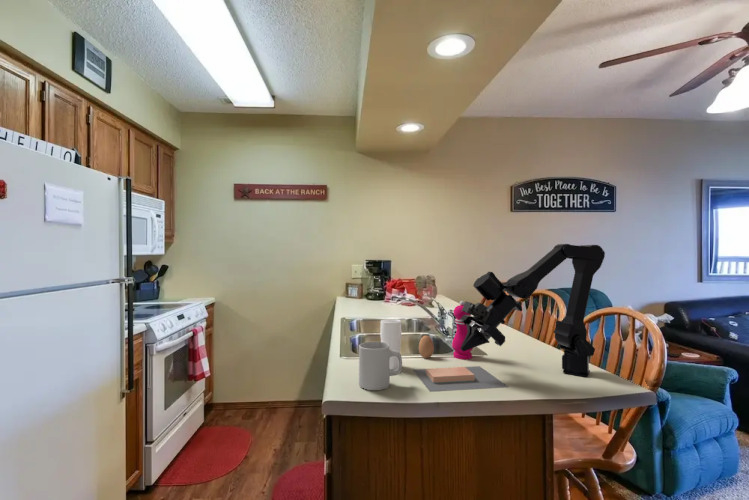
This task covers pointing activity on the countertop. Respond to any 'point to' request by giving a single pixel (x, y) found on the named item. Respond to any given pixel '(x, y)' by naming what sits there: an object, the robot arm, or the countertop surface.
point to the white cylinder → (391, 338)
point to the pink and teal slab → (450, 375)
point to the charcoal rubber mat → (481, 382)
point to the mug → (376, 365)
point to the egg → (426, 347)
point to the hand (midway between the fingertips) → (461, 350)
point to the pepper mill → (460, 334)
